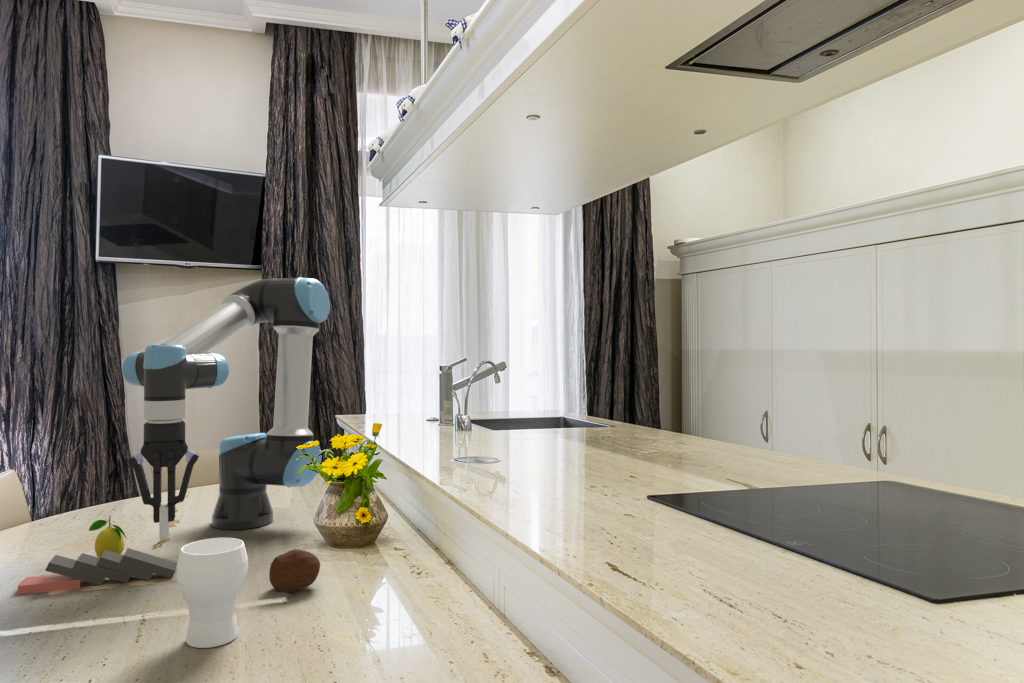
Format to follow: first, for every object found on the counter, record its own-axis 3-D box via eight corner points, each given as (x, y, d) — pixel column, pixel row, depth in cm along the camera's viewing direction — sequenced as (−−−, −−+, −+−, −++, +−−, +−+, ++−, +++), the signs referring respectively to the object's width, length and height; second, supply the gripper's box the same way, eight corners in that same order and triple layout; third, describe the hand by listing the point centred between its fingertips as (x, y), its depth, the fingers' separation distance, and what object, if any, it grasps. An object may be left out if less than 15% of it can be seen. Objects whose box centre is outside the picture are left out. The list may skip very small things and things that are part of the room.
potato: (262, 593, 133) (262, 551, 133) (305, 579, 141) (305, 540, 141) (285, 602, 129) (285, 559, 129) (328, 587, 137) (328, 547, 137)
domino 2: (109, 569, 139) (55, 554, 136) (104, 577, 134) (48, 562, 131) (106, 576, 139) (52, 562, 136) (101, 585, 134) (45, 570, 131)
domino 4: (156, 565, 142) (105, 549, 139) (153, 572, 137) (100, 557, 134) (152, 572, 142) (101, 557, 139) (149, 580, 137) (96, 565, 134)
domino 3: (134, 567, 141) (82, 553, 137) (130, 575, 136) (76, 560, 133) (131, 575, 141) (78, 560, 137) (127, 583, 136) (72, 568, 133)
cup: (191, 625, 118) (191, 537, 118) (255, 623, 119) (255, 535, 119) (165, 653, 107) (165, 556, 107) (236, 651, 108) (236, 555, 108)
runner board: (203, 568, 147) (203, 564, 147) (200, 582, 139) (200, 578, 139) (60, 583, 138) (60, 579, 138) (47, 599, 129) (47, 594, 129)
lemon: (88, 561, 151) (88, 515, 151) (117, 555, 155) (118, 511, 155) (98, 568, 147) (98, 521, 146) (128, 562, 151) (128, 516, 151)
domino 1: (85, 571, 138) (26, 577, 134) (80, 579, 133) (18, 586, 130) (85, 579, 138) (26, 585, 134) (80, 588, 133) (18, 594, 130)
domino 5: (177, 563, 144) (127, 547, 140) (175, 570, 139) (123, 555, 136) (174, 570, 143) (124, 555, 140) (171, 578, 139) (119, 562, 135)
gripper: (201, 417, 146) (200, 530, 146) (131, 419, 141) (130, 535, 142) (198, 421, 139) (198, 539, 139) (125, 424, 134) (124, 546, 135)
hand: (164, 537), depth 140 cm, fingers closed
